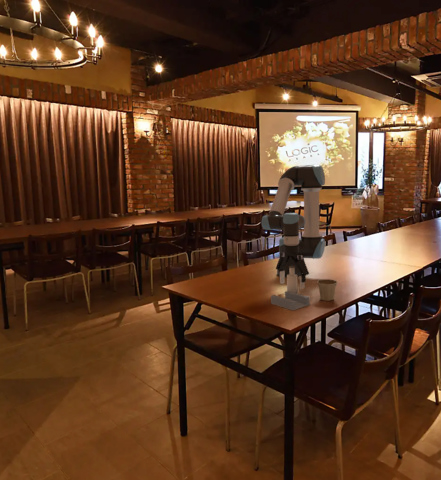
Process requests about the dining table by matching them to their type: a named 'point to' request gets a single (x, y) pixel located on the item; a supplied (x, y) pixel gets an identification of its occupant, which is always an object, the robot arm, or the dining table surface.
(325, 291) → the flower pot
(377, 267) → the dining table surface
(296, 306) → the cradle
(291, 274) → the bottle
